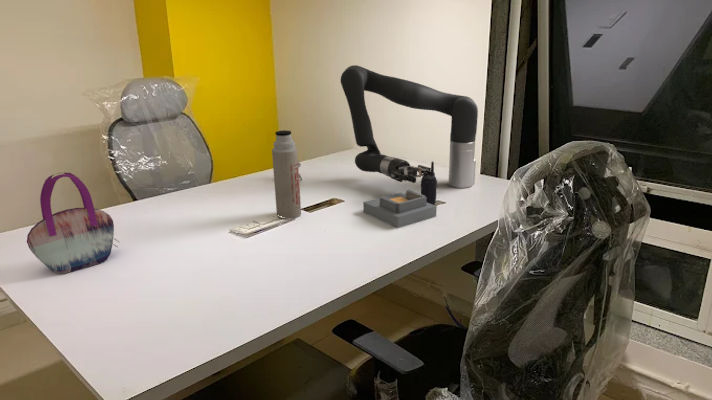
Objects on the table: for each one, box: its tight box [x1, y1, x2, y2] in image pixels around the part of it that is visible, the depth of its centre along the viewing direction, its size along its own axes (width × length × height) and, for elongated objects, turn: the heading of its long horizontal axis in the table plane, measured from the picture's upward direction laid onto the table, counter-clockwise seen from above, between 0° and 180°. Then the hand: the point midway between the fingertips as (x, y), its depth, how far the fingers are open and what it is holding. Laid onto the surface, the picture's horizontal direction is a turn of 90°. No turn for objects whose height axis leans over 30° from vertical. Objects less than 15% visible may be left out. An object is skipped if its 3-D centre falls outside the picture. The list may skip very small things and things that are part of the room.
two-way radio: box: [420, 161, 438, 205], centre depth 174 cm, size 6×4×15 cm
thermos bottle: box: [271, 129, 302, 220], centre depth 165 cm, size 8×8×28 cm
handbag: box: [26, 172, 120, 274], centre depth 134 cm, size 21×10×25 cm, turn 131°
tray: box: [362, 189, 438, 229], centre depth 167 cm, size 16×18×6 cm
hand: (424, 177), depth 175 cm, fingers open, 8 cm apart
